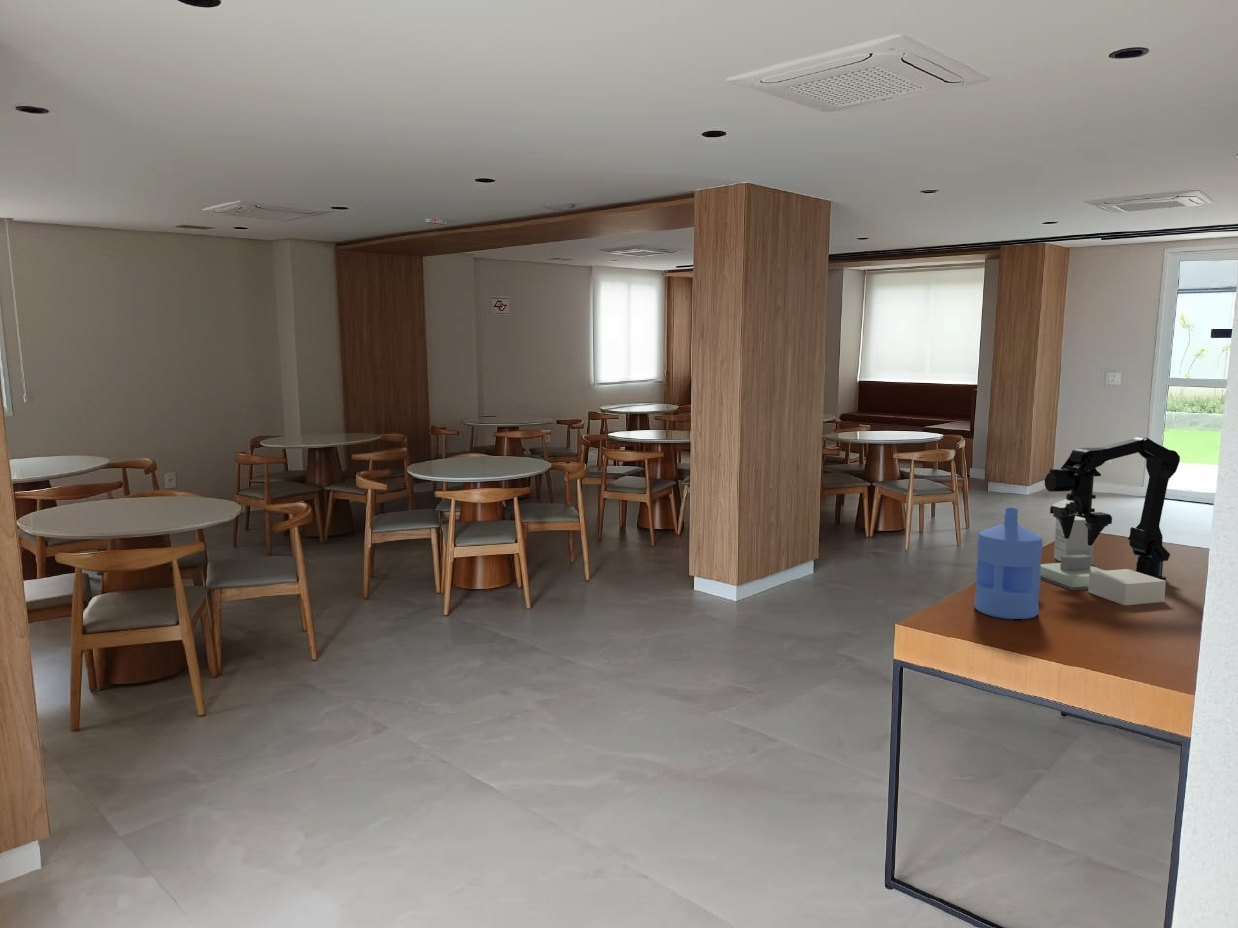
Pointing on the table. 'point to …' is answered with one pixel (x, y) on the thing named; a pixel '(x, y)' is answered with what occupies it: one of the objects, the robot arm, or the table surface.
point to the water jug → (1008, 570)
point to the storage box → (1127, 587)
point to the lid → (1070, 570)
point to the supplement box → (1073, 540)
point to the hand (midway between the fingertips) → (1078, 541)
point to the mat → (1064, 585)
